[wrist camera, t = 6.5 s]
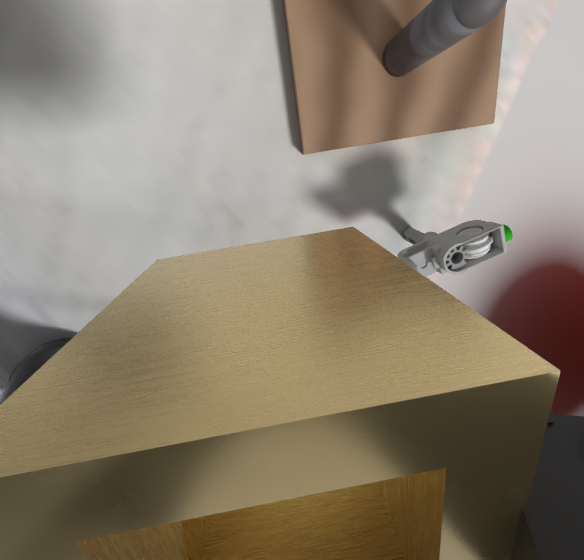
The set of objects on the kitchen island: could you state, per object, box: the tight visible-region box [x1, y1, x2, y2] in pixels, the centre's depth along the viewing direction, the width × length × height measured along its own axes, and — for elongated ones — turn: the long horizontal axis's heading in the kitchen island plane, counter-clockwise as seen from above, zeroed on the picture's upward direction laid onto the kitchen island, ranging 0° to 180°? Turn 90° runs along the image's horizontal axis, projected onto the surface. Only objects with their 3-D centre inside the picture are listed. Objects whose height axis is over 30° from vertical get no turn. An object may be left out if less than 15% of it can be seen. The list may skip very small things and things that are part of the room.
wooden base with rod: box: [283, 0, 507, 154], centre depth 23 cm, size 20×14×14 cm
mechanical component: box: [398, 220, 512, 277], centre depth 31 cm, size 3×10×10 cm, turn 114°
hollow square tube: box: [0, 227, 560, 560], centre depth 9 cm, size 8×8×9 cm
